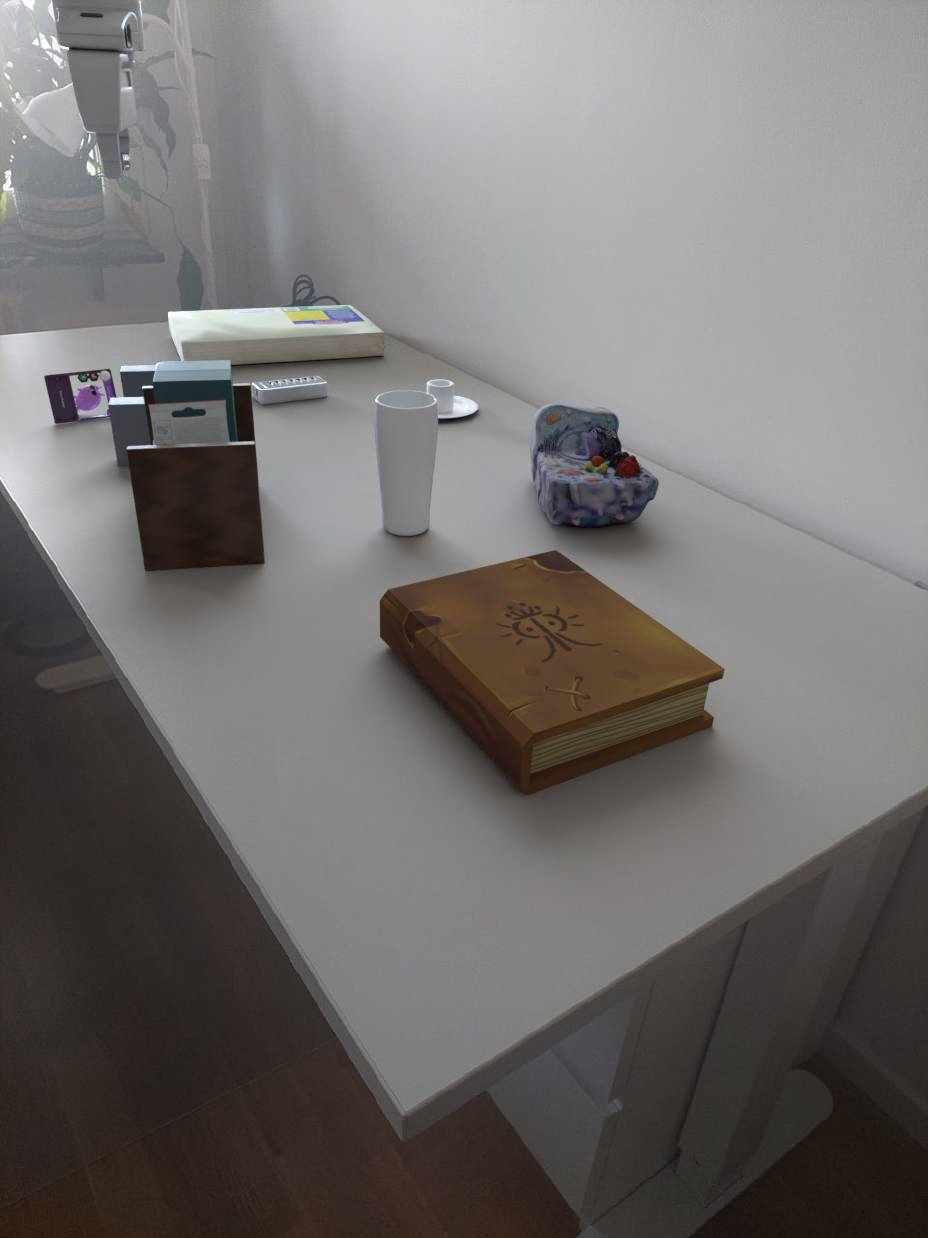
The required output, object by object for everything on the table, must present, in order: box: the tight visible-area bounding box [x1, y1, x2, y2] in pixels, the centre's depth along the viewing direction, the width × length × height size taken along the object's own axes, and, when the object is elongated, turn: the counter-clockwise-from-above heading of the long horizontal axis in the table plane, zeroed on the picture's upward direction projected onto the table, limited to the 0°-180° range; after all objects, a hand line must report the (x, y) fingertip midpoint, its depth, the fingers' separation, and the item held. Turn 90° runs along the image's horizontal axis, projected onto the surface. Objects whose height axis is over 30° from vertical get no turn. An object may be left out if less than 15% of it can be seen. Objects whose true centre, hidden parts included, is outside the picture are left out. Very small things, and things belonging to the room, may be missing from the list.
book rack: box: [126, 382, 265, 572], centre depth 102 cm, size 12×21×13 cm, turn 12°
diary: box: [379, 549, 726, 795], centre depth 78 cm, size 23×19×6 cm
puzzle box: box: [167, 304, 386, 366], centre depth 173 cm, size 36×5×24 cm
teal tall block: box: [153, 360, 238, 442], centre depth 106 cm, size 8×8×15 cm
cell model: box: [529, 403, 660, 528], centre depth 111 cm, size 13×11×20 cm
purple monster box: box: [43, 368, 118, 425], centre depth 135 cm, size 7×5×9 cm
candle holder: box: [426, 378, 479, 420], centre depth 143 cm, size 12×12×4 cm
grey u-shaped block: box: [107, 364, 157, 467], centre depth 126 cm, size 7×18×8 cm, turn 12°
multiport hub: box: [251, 375, 328, 405], centre depth 147 cm, size 4×11×2 cm, turn 119°
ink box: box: [149, 400, 230, 445], centre depth 99 cm, size 4×8×15 cm, turn 107°
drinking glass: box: [374, 389, 439, 537], centre depth 103 cm, size 7×7×15 cm
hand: (119, 173), depth 106 cm, fingers open, 8 cm apart
